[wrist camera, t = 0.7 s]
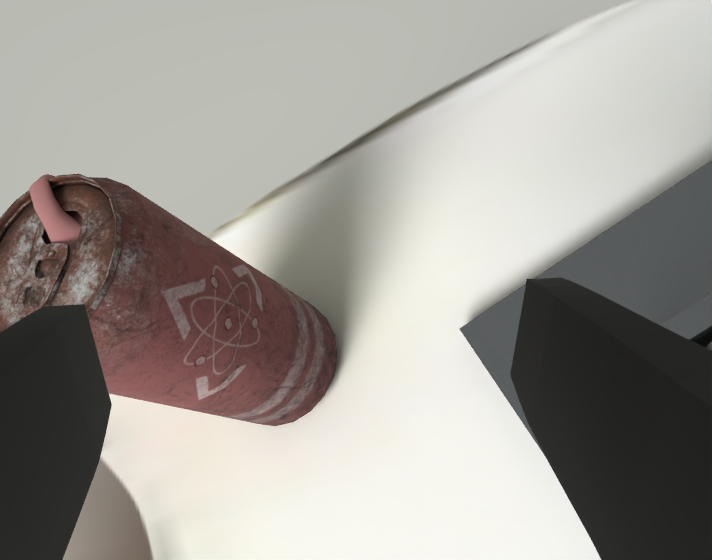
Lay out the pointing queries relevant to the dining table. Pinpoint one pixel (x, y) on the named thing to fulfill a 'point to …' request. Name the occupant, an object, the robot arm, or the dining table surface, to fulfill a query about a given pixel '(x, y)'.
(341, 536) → the dining table surface
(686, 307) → the stand
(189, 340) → the can
